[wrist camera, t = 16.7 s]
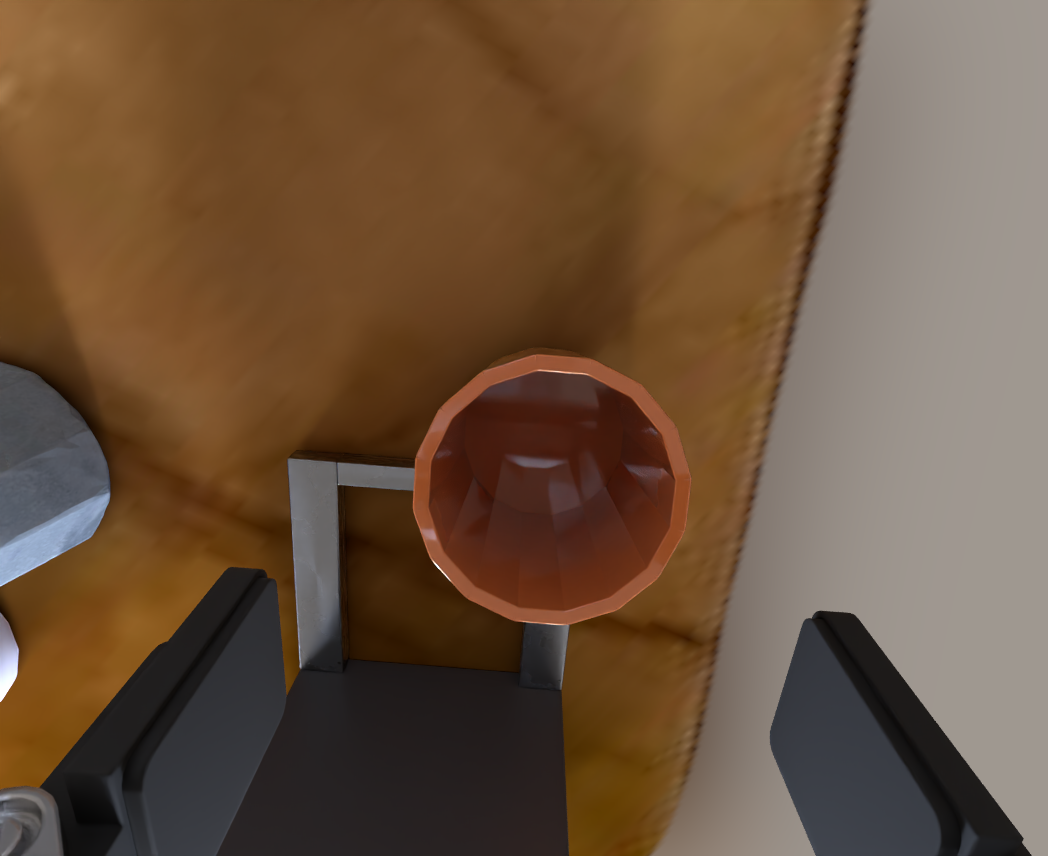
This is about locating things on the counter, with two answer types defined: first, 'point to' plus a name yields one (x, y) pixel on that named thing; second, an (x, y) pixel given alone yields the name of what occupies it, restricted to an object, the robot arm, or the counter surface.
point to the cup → (551, 488)
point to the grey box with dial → (408, 767)
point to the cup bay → (326, 572)
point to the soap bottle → (7, 657)
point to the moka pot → (45, 474)
